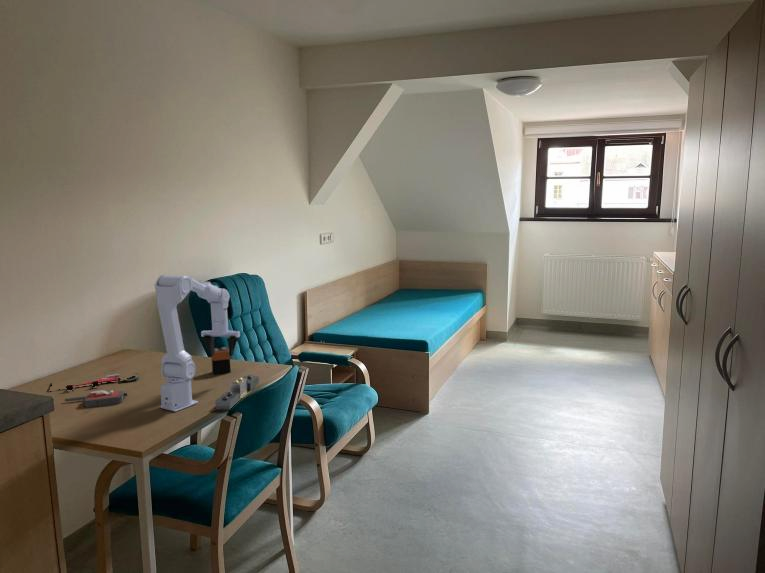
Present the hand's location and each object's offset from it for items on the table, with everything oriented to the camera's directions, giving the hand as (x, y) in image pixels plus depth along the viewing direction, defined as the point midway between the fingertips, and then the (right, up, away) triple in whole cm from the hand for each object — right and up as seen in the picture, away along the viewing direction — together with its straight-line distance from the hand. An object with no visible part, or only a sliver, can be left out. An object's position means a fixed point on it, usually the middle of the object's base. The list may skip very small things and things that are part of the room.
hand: (221, 355), depth 209 cm
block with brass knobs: (+10, -12, -13) cm, 21 cm away
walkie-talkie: (-38, -15, -18) cm, 45 cm away
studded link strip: (+10, -13, -14) cm, 21 cm away
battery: (-4, -9, +14) cm, 17 cm away
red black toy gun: (-49, -12, +3) cm, 51 cm away
